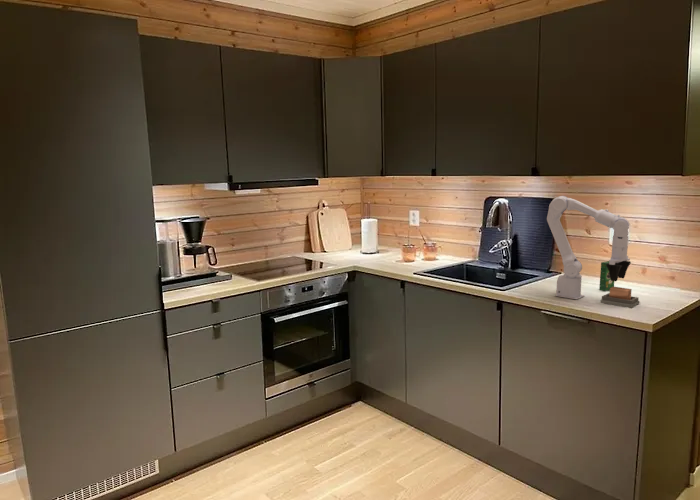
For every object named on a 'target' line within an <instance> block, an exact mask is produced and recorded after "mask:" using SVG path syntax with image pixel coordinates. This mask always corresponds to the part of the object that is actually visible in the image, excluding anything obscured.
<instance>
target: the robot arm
mask: <svg viewBox="0 0 700 500" xmlns="http://www.w3.org/2000/svg"><path fill="white" fill-rule="evenodd" d="M566 211H578V212H581V213H583V214H585V215H588V216H590V217H592V218H593V219H594V221H595V222H596V223H598V224H600V225H603V226H605V227H607V228H608V229H611V228H612V229H613V235H612V245H611V254H610V255H611V257H610V259H608V261H609V263H607V264H606V266H607V268H608V270H609V273H610V278H611V281H614V282H617V281H618V279H624V278H625V277H626V274H627V270H628V268H629V267H630V265H631V264H632V261H630V260H631V258H629V255H628V246H629V229H630V221H629V220H628V219H627V218H625V217H624V216H623V217H622V216H621V215H619V214H614V213H613V212H610V210H609V209H607V208H606V209H603V208H601V209H596V208H595V207H594V208H593V207H591V206H589V205H587V204H585V203H583V202H581V201H579V200H577V199H574V198H571V197H567V196H566V195H559V196H557V197H555V198H553V199H552V201H550V203H549V206H548V211H547V216H546V222H547V224H548V226H549V229H550V230H551V231H550V232H551V233H552V236H553V239H554V242H555V244H556V246H557V249H558V250H559V253H560V255H561V258H562V259H561V260H562V265H563V273H564V274H561V275H558V277H557V279H556V289H555V290H556V294H555V297H560V298H565V299H571V300H579V299H581V298H583V297H585V294H581V293H582V277H583V276H582V275H581V273H580V272H582V269H583V265H582V263H581V262H580V261H579V260H578V259H577V256H576V254H575V253H574V251H573V249H572V246H571V244H570V242H569V239H568V237H567V234H566V231H565V230H564V227H563V224H562V222H561V218H562V215H563V214H564V212H566Z"/></svg>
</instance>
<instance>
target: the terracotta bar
mask: <svg viewBox="0 0 700 500" xmlns="http://www.w3.org/2000/svg"><path fill="white" fill-rule="evenodd" d="M609 293H610V295H609V297H613V298H620V299H626V300H631V296H632V288H626V287H619V286H614V287H611V288H610V290H609Z"/></svg>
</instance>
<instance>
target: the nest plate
mask: <svg viewBox="0 0 700 500" xmlns="http://www.w3.org/2000/svg"><path fill="white" fill-rule="evenodd" d="M609 295H610V292H608V293H605V294H604V295H602V296H601V299H600V302H599V303H600V304H605V305H610V306H611V305H612V306H615V307H616V306H618V307H624V308H629V309H632V308H634V307H636V306H638V305H639V304H640V300H639V297H637V296H632V295H631V300H626V299H620V298H613V297H609Z"/></svg>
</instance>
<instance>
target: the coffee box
mask: <svg viewBox="0 0 700 500" xmlns="http://www.w3.org/2000/svg"><path fill="white" fill-rule="evenodd" d="M607 263H609V260H608V261H607V260H606V261H602V262H600V276H599V286H598V287H599V289H598V290H599V291H601V292H606V291H607V292H608V291H610V288H611V287H615V281H611V278H610V273H609V270H608V268H607V266H606V264H607Z"/></svg>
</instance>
